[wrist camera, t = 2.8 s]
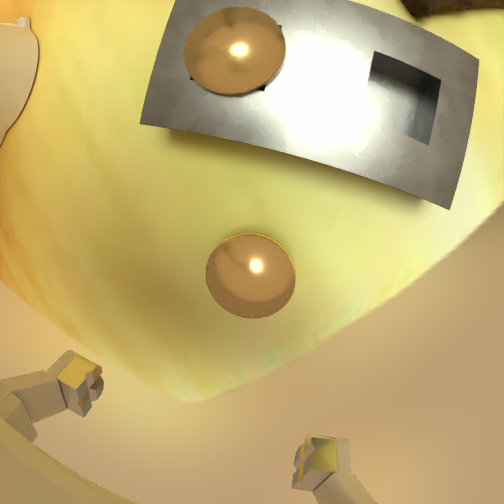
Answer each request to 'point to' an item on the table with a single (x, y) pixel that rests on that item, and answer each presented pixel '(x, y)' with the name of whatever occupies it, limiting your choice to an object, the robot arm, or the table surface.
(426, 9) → the hand tool
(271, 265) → the tan dome cap
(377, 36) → the block
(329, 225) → the table surface
